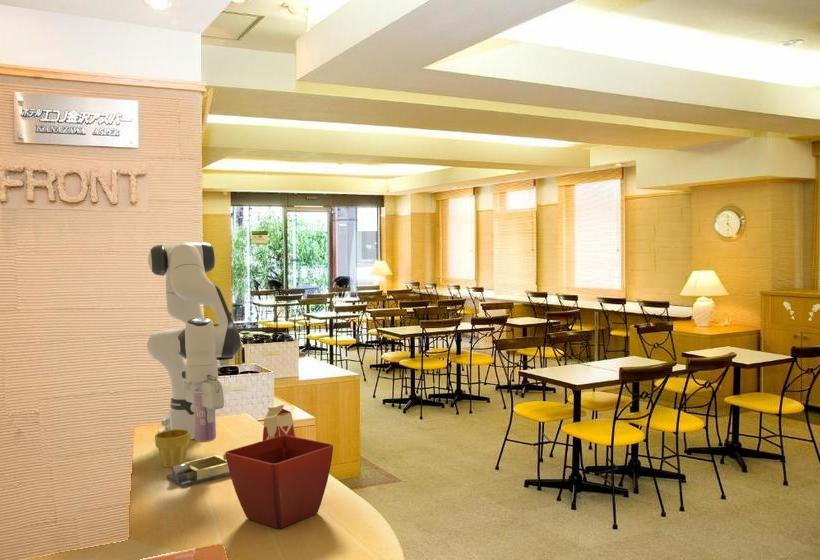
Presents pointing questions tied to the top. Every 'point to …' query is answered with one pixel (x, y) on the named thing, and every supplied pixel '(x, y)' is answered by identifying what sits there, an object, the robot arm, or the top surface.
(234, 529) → the top surface
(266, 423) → the milk carton
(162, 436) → the plant pot
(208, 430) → the beverage can
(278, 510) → the plant pot
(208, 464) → the grey and tan tray
